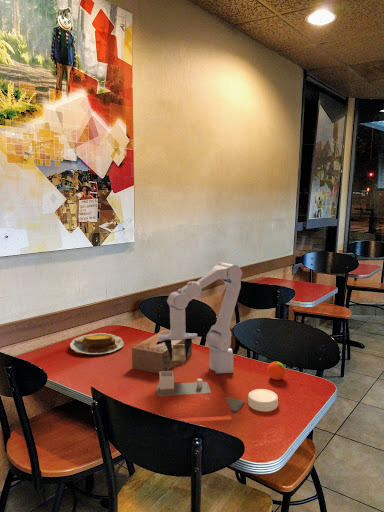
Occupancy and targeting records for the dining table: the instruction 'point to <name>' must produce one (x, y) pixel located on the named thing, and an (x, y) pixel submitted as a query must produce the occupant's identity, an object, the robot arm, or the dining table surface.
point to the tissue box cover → (154, 354)
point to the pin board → (187, 388)
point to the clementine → (276, 370)
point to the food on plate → (96, 343)
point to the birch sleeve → (178, 354)
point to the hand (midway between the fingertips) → (178, 358)
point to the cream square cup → (166, 381)
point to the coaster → (262, 400)
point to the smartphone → (234, 404)
